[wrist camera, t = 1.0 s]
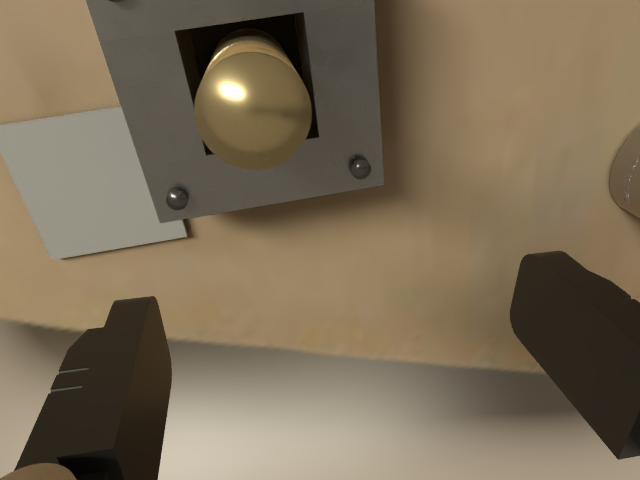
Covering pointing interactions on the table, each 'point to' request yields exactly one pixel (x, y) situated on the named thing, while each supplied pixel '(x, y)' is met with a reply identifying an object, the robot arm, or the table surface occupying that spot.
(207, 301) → the table surface
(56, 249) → the rubber mat
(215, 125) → the brass cylindrical shaft
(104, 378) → the robot arm
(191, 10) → the grey square socket block
